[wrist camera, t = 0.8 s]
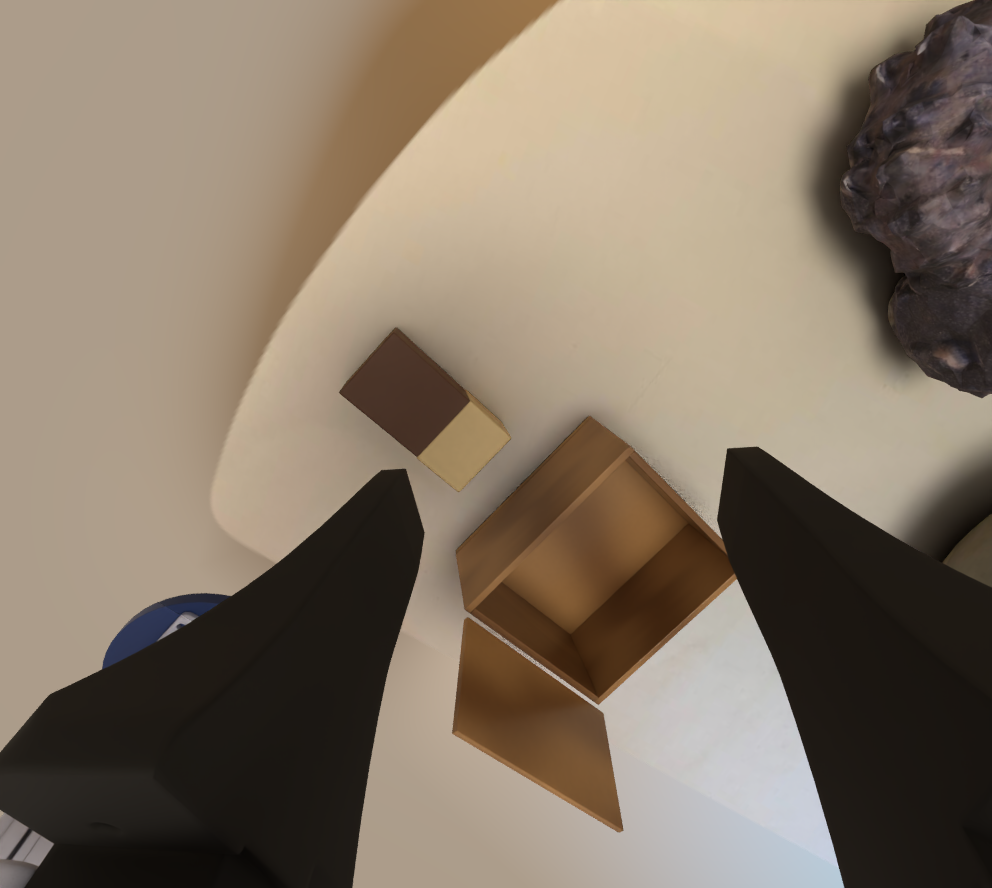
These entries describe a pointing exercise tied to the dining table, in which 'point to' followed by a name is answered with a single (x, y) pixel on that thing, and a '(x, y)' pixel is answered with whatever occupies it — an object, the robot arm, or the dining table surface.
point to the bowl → (974, 553)
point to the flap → (534, 725)
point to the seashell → (933, 193)
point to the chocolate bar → (426, 410)
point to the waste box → (592, 563)
